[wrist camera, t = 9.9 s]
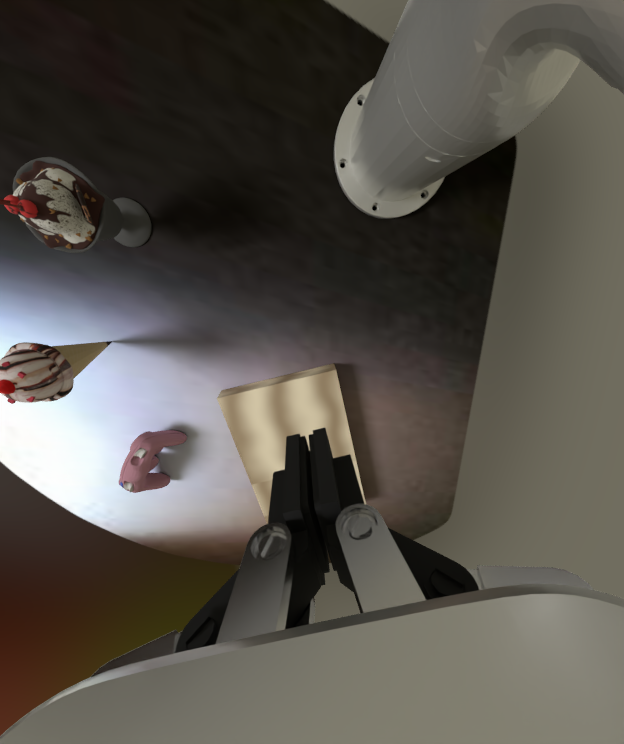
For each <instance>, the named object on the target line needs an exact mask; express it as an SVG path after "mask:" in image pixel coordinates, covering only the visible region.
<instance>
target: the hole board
mask: <svg viewBox="0 0 624 744" xmlns="http://www.w3.org/2000/svg"><path fill="white" fill-rule="evenodd" d="M217 400H218V402H219V405H220V407H221V410H222V412H223V415H224V417H225V420H226V422H227V425H228V427H229V430H230V432H231V435H232V437H233V440H234V442H235V445H236V447H237V450H238V452H239V455H240V457H241V459H242V462H243V464H244V467H245V469H246V472H247V474H248V477H249V479H250V482H251V484H252V487H253V489H254V492H255V494H256V497H257V499H258V502H259V504H260V507H261V509H262V512H263V514H264V517H265V519H266V522H267V524H268V516H269V507H270V498H271V488H272V479H273V473H274V472H275V471H280V470H284V469H285V454H286V437H287V436H291V435H295V434H300V436H301V437H302V436H305V437H306V440H307V444H308V447H309V435H310V434H313V430H316V429H321V428H326V432H327V436H328V440H329V443H330V447H331V451H332V455H333V458H336V457H341V456H345V455H349V454H350V455H351V458H352V462H353V465H354V469H355V472H356V476H357V479H358V483H359V486H360V490H361V493H362V497H363V500H364V504H366V502H365V498H364V493H363V489H362V484H361V480H360V475H359V471H358V466H357V462H356V457H355V453H354V448H353V444H352V439H351V435H350V430H349V426H348V421H347V417H346V412H345V408H344V403H343V399H342V394H341V390H340V385H339V381H338V376H337V372H336V368H335V365H334V363H333V364H329V365H325V366H321V367H317V368H313V369H309V370H305V371H300V372H296V373H292V374H288V375H284V376H280V377H276V378H271V379H267V380H263V381H259V382H255V383H251V384H247V385H243V386H238V387H234V388H230V389H226V390H222V391H221V393H220V394H219V396H218V398H217ZM309 451H310V448H309Z"/></svg>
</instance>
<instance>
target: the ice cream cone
mask: <svg viewBox="0 0 624 744" xmlns="http://www.w3.org/2000/svg"><path fill="white" fill-rule="evenodd" d="M111 342H112V341H110V342H98V343H87V344H75V345H64V346H52V347H51V346H48V345H43V344H37V343H19V344H16V345H14V346H12V347H11V348H10V349H9V351H8V352H7V353H6V355H5V356H4V357H3V358H2V359H1V360H0V393H2V394H3V395H4V396H6V397H7V398H9V399H8V402H10V403H12V404H13V403H15V401H19V402H38V401H54V400H58V399H60V398H62V397H65V396H66V395H67V394H69V393H70V392H71V390H72V388H73V379H74V378H75V377H76V376H77V375H78V374H79V373H80V372H81V371H82V370H83V369H84V368H85V367H86V366H87V365H88V364H89V363H90V362H92V361H93V360H94V359H95V358H96V357H97V356H98V355H99V354H100V353H101V352H102V351H103V350H104V349H105V348H106V347H107V346H108V345H109V344H110V343H111Z"/></svg>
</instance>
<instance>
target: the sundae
mask: <svg viewBox="0 0 624 744" xmlns="http://www.w3.org/2000/svg"><path fill="white" fill-rule="evenodd" d="M13 192H14V194H13V195H9V196H7V197H5V199H4V200H3V199H0V204H4V205H5V207H6V208H7V210H9V211H10V212H11V213H14V214H18V215H19V216H20V217H21V218H20V219H21V220H22V221H24V222H25V223H26V225H27V227H28V228H29V229H30V231H31V232H32V233H33V234H34V235H35V236H36V237H37V238H38V239H39V240H40V241H42V242H43V243H45V244H46V245H47V246H48V247H49V248H52V249H57V250H61V251H65V252H70V253H80V252H85V251H87V250H89V249H90V248H91V247H92V246H93V245H94V244H95V243H96V242H97V241H103V240H107V239H111V238H114V239H115V240H116V241H118V242H119V243H121V244H122V245H125V246H128V247H138V246H141V245H143V244H144V243H145V242H147V241H148V239H149V237H150V234H151V221H150V218H149V216H148V214H147V212H146V211H145V209H144V208H143V207H142V206H141V205H140V204H139V203H137V202H136V201H134V200H132V199H129V198H118V199H115V200H111V199H110V198H109V197H107V196H106V195H105V194H104V193H102V192H101V191H99V190H98V189H97V188H96V187H95V186H94V184H93V183H92V182H91V181H90V180H89V179H88V178H87V177H86V176H85V175H84V174H83V173H82V172H81V171H79V170H78V169H77V168H75V167H74V166H72V165H71V164H69V163H67V162H66V161H63V160H60V159H57V158H53V157H43V158H38V159H35V160H32V161H29V162H28V163H26V164H25V165H23V166H22V167H21V168H20V169H19V170H18V171H17V174H16V176H15V178H14V183H13Z"/></svg>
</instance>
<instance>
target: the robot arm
mask: <svg viewBox="0 0 624 744" xmlns="http://www.w3.org/2000/svg"><path fill="white" fill-rule="evenodd" d="M580 60H582V61H583V62H584V63H585V64H587V65H588V66H589V67H590V68H591V69H593V70H594V71H595V72H596V73H597V74H598V75H599V76H600V77H601V78H602V79H603V80H605V82H607V83H608V84H609V85H610V86H611V87H614V88H617V89H619V90H620V91H621V92H622V93H623V94H624V0H409V1H408V3H407V5H406V7H405V10H404V12H403V14H402V17H401V19H400V21H399V23H398V26H397V28H396V31H395V33H394V35H393V37H392V40H391V42H390V44H389V47H388V49H387V51H386V54H385V56H384V58H383V61H382V63H381V65H380V68H379V70H378V72H377V75H376V77H375V78H374V79H373V80H371V81H370V82H368V83H367V84H365V85H364V86H363V87H362V88H361V89H360V90H359V91H358V92H357V93H356V94H355V95H354V96H353V97H352V99H351V100H350V102H349V103H348V105H347V106H346V108H345V110H344V112H343V115H342V117H341V119H340V122H339V125H338V128H337V132H336V137H335V143H334V164H335V171H336V175H337V178H338V181H339V184H340V186H341V188H342V190H343V192H344V194H345V195H346V196H347V198H348V199H349V200H350V202H351V203H352V204H353V205H354V206H356V207H357V208H358V209H359V210H360V211H362V212H364V213H366V214H368V215H370V216H373V217H377V218H385V219H390V218H397V217H401V216H404V215H407V214H409V213H411V212H413V211H415V210H417V209H418V208H420V207H421V206H422V205H424V204H425V203H426V202H427V201H428V200H429V199H430V198H431V197H432V196H433V195H434V194H435V193H436V191H437V190H438V188H439V187H440V185H441V184H442V182H443V180H444V178H445V176H447V175H448V174H450V173H452V172H453V171H455V170H457V169H459V168H460V167H462V166H464V165H466V164H467V163H469V162H471V161H472V160H474V159H476V158H478V157H479V156H481V155H483V154H485V153H486V152H488V151H490V150H492V149H493V148H495V147H496V146H498V145H499V144H501V143H503V142H505V141H506V140H508V139H510V138H511V137H513V136H514V135H516V134H517V133H519V132H520V131H522V130H523V129H524V128H526V127H527V126H528V125H529V124H530V123H532V122H533V121H534V120H535V119H536V118H537V117H538V116H539V115H540V114H541V113H542V112H543V111H544V110H545V109H546V108H547V107H548V106H549V105H550V104H551V103H552V101H553V100H554V99H555V97H556V96H557V95H558V94H559V92H560V91H561V89H562V88H563V87H564V86H565V84H566V83H567V81H568V80H569V78H570V77H571V75H572V74H573V72H574V70H575V69H576V67H577V65H578V63H579V62H580ZM358 102H360V103H361V104H362V106H359V105H358ZM340 164H344V168H341V167H340ZM421 194H423V198H421ZM373 206H375V207H376V210H375V211H374V210H373V209H372V207H373ZM309 448H310V451H309ZM327 550H328V552H327ZM328 553H329V557H330V560H331V563H332V566H333V569H334V571H336V570H337V573H338V576H339V579H340V582H341V583H342V584H343V585H344V586H346V587H347V588H349V589H350V590H351V591H353V592H354V594H355V598H356V601H357V604H358V607H359V610H360V614H356V615H351V616H347V617H342V618H337V619H333V620H328V621H323V622H318V623H314V617H315V598H314V596H315V595H316V593H317V592H318V590H319V589H320V587H321V585H325V577H324V573H327V572H329V561H328ZM0 744H624V598H620V597H618V596H614V595H611V594H608V593H604V592H600V591H595V590H594V589H593V588H592V587H591V586H590V585H589V584H588V583H587V582H586V581H584V580H583V579H582V578H580V577H579V576H577V575H575V574H573V573H571V572H569V571H566V570H563V569H558V568H548V567H547V568H546V567H514V566H480V565H478V566H477V569H466V568H464V567H463V566H461V565H460V564H458V563H457V562H455V561H453V560H451V559H449V558H447V557H444V556H443V555H441V554H439V553H437V552H435V551H433V550H431V549H429V548H427V547H425V546H423V545H421V544H419V543H417V542H415V541H413V540H411V539H409V538H407V537H405V536H403V535H401V534H399V533H397V532H395V531H393V530H391V529H389V528H387V526H386V524H385V522H384V520H383V519H382V517H381V515H380V514H379V512H378V511H377V510H376V509H375V508H373V507H372V506H369V505H366V504H364V500H363V497H362V493H361V490H360V486H359V483H358V479H357V476H356V472H355V469H354V465H353V462H352V458H351V455H350V454H349V455H345V456H341V457H336V458H333V455H332V451H331V447H330V443H329V440H328V436H327V432H326V428H321V429H316V430H313V434H310V435H309V447H308V444H307V440H306V437H305V436H302V437H301V436H300V434H295V435H291V436H287V437H286V454H285V469H284V470H280V471H275V472H274V473H273V479H272V488H271V498H270V507H269V516H268V524H266V525H264V526H262V527H261V528H259V529H258V530H257V531H256V532H255V533H254V534H253V535H252V536H251V538H250V540H249V542H248V544H247V547H246V550H245V553H244V556H243V559H242V562H241V565H240V569H239V570H238V571H237V572H236V573H235V574H234V575H233V576H232V577H231V578H230V579H229V580H228V581H227V582H226V583H225V584H224V585H223V586H222V587H221V589H220V590H219V591H218V592H217V593H216V594H215V595H214V596H213V597H212V598H211V599H210V600H209V601H208V602H207V603H206V604H205V605H204V607H203V608H202V609H201V610H200V611H199V612H198V613H197V614H196V615H195V616H194V617H193V618H192V619H191V620H190V622H189V623H188V624H187V625H186V627H185V628H184V630H183V631H182V632H180V633H178V632H177V631H176V630H174V631H173V632H170V633H168V634H166V635H164V636H162V637H160V638H158V639H156V640H153V641H151V642H149V643H147V644H145V645H143V646H141V647H139V648H136V649H134V650H132V651H130V652H128V653H126V654H124V655H122V656H120V657H118V658H115V659H113V660H111V661H109V662H108V663H106V664H105V665H103V666H102V667H100V668H99V669H98V670H97V671H96V672H95V673H94V674H93V675H92V676H91V677H90V678H88V679H86V680H84V681H82V682H80V683H78V684H76V685H74V686H72V687H70V688H68V689H66V690H64V691H62V692H60V693H58V694H57V695H55V696H54V697H52V698H50V699H49V700H47V701H46V702H44V703H43V704H41V705H40V706H38V707H36V708H35V709H33V710H32V711H31V712H29V713H28V714H27V715H25V716H24V717H23V718H21V719H20V720H19V721H18V722H16V723H15V724H14V725H13V726H12V727H10V728H9V729H8V730H6V732H4V733H3V734H2V736H0Z"/></svg>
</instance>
